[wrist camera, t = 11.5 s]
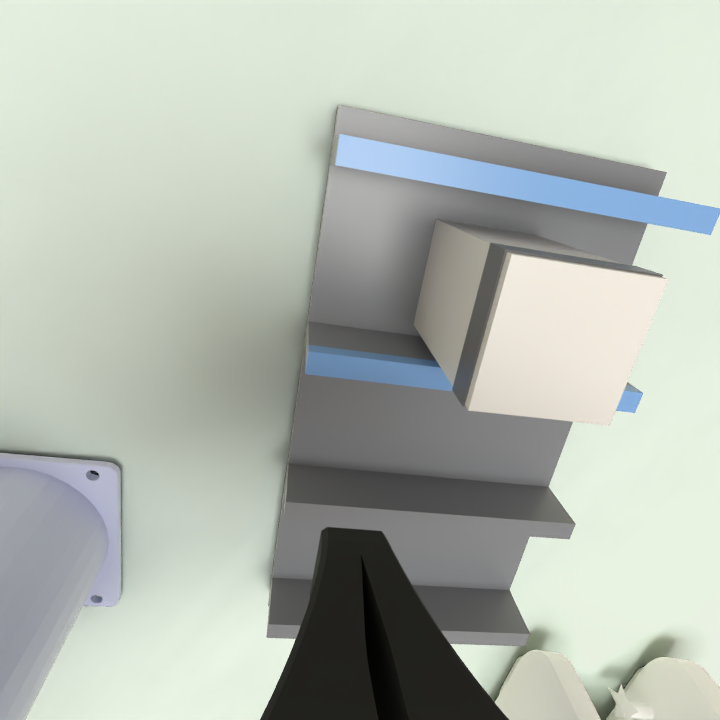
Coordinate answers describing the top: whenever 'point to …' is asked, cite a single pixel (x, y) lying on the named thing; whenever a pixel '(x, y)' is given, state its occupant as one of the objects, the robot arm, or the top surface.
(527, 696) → the cable organizer
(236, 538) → the top surface
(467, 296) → the beige block
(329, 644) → the robot arm
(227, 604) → the top surface
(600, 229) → the grey slotted rack
